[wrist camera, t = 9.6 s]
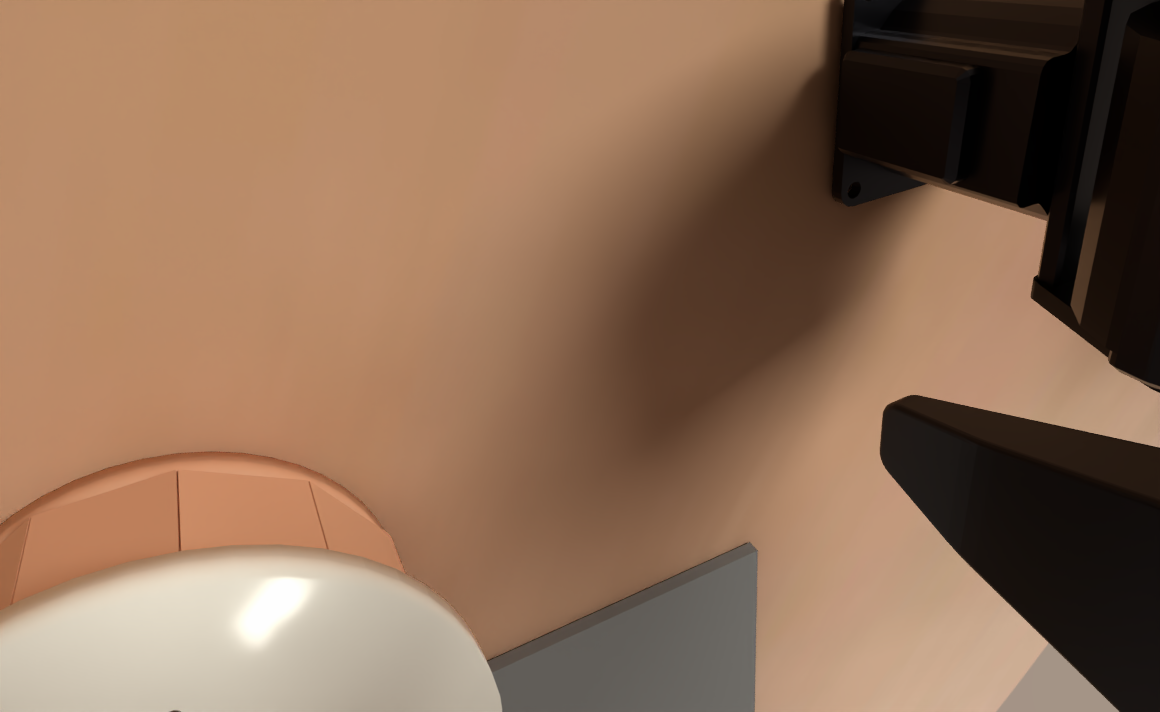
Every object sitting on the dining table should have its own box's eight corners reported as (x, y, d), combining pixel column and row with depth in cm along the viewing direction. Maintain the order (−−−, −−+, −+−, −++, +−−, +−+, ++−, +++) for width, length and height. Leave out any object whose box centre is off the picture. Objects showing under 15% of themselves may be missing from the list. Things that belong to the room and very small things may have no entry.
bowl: (345, 393, 20) (392, 506, 16) (430, 675, 25) (481, 812, 21) (-182, 559, 16) (-293, 759, 12) (52, 845, 22) (28, 1047, 18)
